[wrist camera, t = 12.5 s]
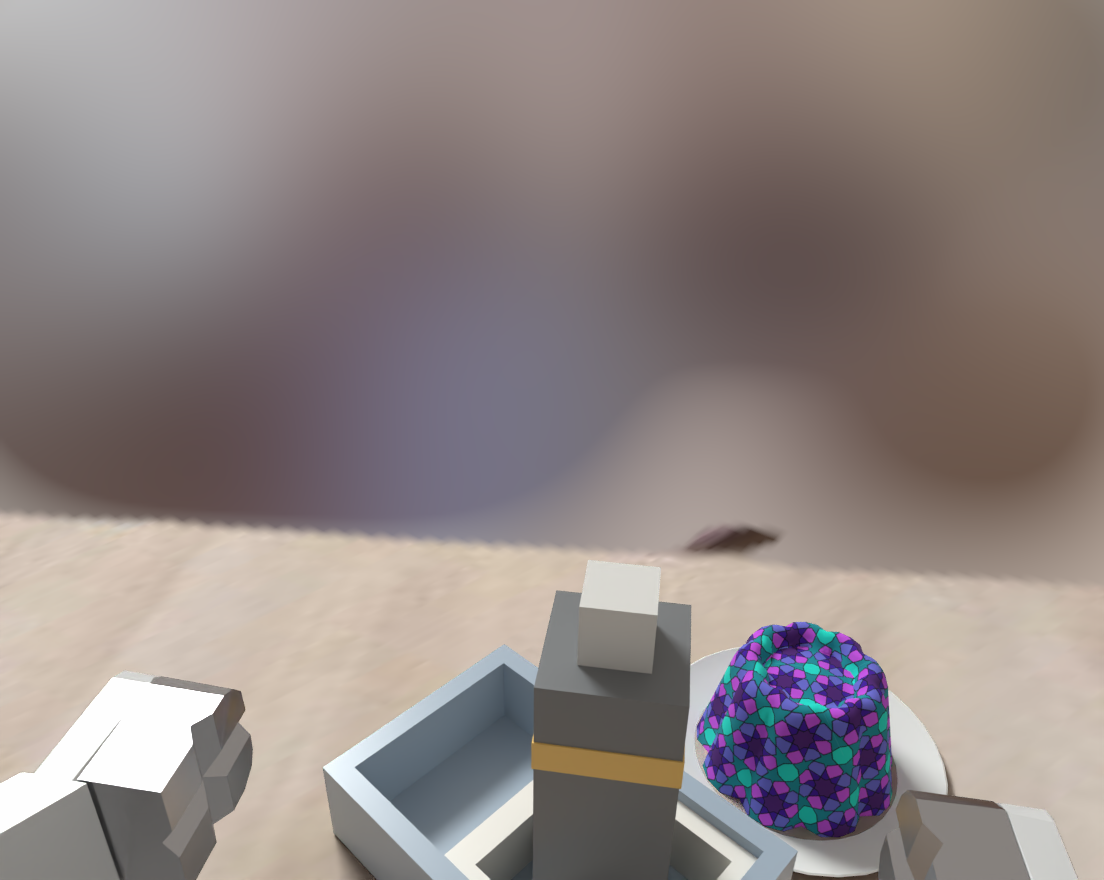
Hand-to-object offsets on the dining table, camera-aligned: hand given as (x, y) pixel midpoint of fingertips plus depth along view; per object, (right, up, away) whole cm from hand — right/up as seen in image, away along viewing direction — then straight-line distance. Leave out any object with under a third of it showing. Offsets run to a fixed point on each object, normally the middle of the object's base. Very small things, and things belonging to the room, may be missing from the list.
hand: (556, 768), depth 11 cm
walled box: (0, -12, +21) cm, 24 cm away
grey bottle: (+2, -12, +19) cm, 22 cm away
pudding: (+10, -10, +26) cm, 30 cm away
